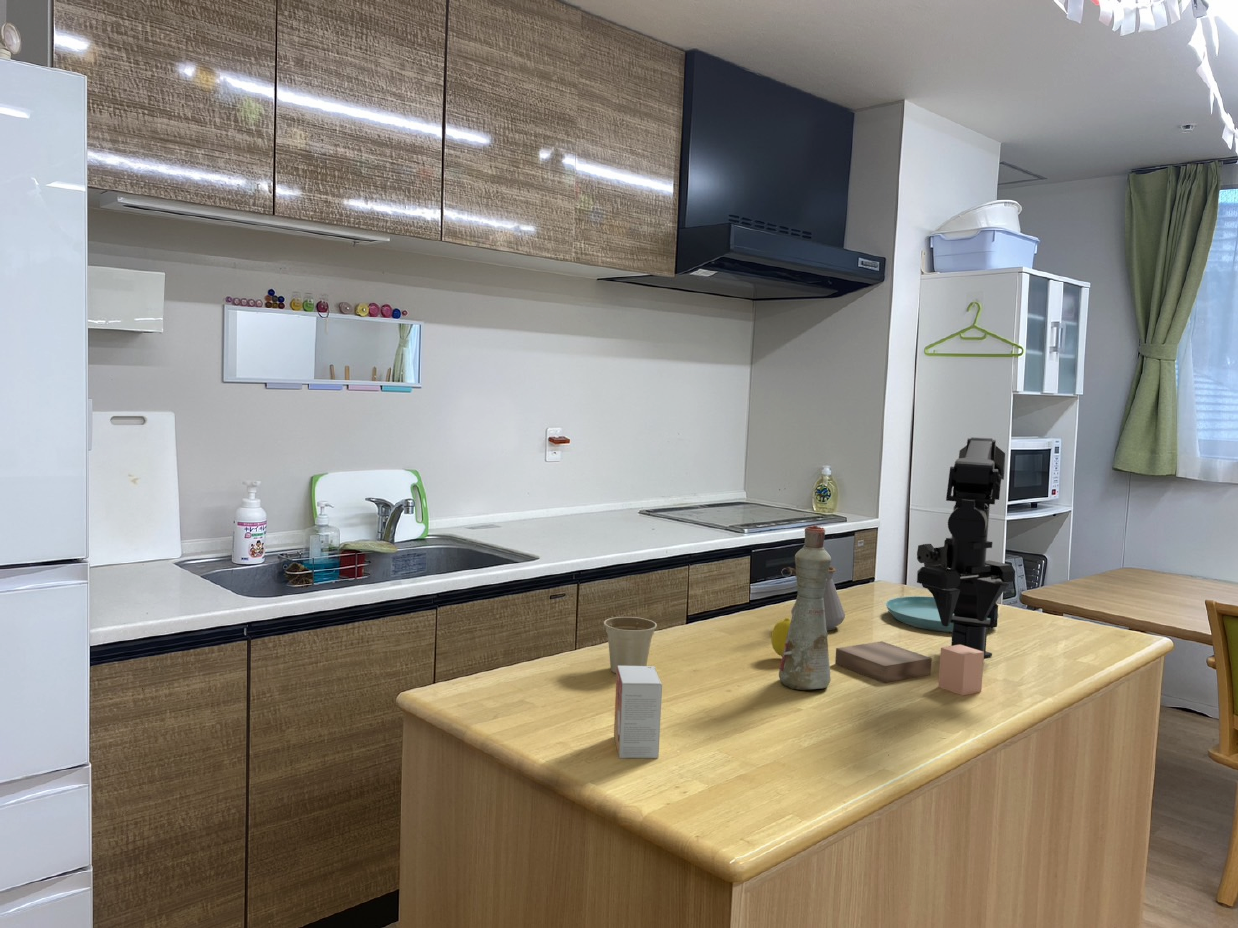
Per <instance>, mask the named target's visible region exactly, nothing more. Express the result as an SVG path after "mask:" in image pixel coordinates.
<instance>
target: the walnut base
mask: <svg viewBox="0 0 1238 928" xmlns="http://www.w3.org/2000/svg"><path fill="white" fill-rule="evenodd" d="M932 660H933V658H932V657H929V656H926V655H923V654H921V653H918V652H914V651H911V650H908V649H907V648H902V647H899V646H897V645H894V644H891V643H888V642H885V641H883V640H882V641H875V642H868V643H862V644H855V645H848V646H842V647H841V646H840V647H836V648H835V661H834V663H835V665H837V666H839V667H842V668H845V669H848V670H850V671H852V672H856V673H858V674H860V675H862V676H866V677H868V678H870V679H872V680H873V679H874V680H876V681H878V682H880V683H889V682H896V681H900V680H901V681H903V680H906V679H911V678H912V679H913V678H917V677H922V676H928V675H931V672H932Z"/></svg>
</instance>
